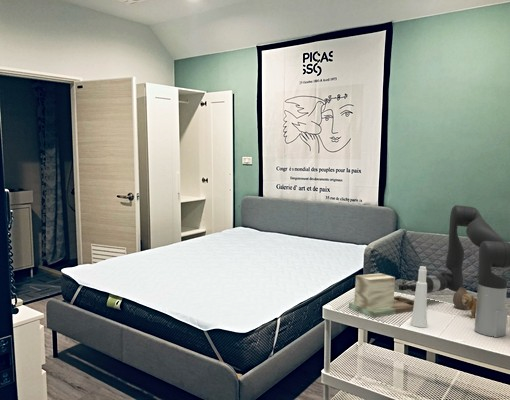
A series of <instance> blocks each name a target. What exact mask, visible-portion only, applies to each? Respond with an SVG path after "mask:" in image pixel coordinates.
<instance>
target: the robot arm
mask: <svg viewBox="0 0 510 400" xmlns="http://www.w3.org/2000/svg"><path fill="white" fill-rule="evenodd" d="M449 216H450V217H449V228H448V229H449V230H448V248H447V254H446V259H445V260H446V261H445V268H447V270H449V272H446V271H443V272H440V273H438V274H437V275H426V283H427V294H431V293H435V292H440V291H444V290H446V289H448V290H450V291H452V292H454V293H456V292H457V291H458V290H459V288H463V284H464V277H463V275H464V274H463V263H464V258H465V251H464V250H465V249H464V247H463V244H462V241H461V240H460V237H459V234H458V227H465V228H466V229H465V231H466V232H465V233H466V235H467V237H468V239H469V240H470V241H471V243H472V244H473V245H475V247H478V248H479V249H478V271H477V272H478V273H477V277H478V278H477V279H478V280H477V292H476V299H477V302H476V313H475V316H474V317H475V318H474V331H475V332H476V333H478V334H480V335H484V336H488V337H493V336H494V338H499V337H503V336H504V337H505V336H506V334H507V325H508V324H507V323H508V322H507V321H508V314H509V313H508V312H509V311H508V308H506V305H507V304H506V302H507V301H506V300H507V292H508V291H507V290H508V281H507V279H506V278H504V277H501V276H499V275H497V274H496V273H494V272H493V271H492V268H501V269H502V268H503V269H504V268H506V269H507V268H510V242H508V241H507V240H506V239H504V238H503V237H501V236H500V235H499V234H498V233H497V232H496V231H495V230H494V229H493V227H492V226H490V224H489V223H487V222H486V220H485V219H484V218H483V216H482V214H481V213H480V211H479V210H478V209H477V208H476V207H473V206H468V205H467V206H465V205H459V204H458V205H454V206H453V207H452V209H451V211H450V215H449ZM417 281H418V276H417V277H416V278H415V279H413V280H410V281H407V280H406V279H403V280H402V282H401V284H398V290H399V291H402V292H403V291H408V292H409V291H411V292H414V293H415V291H416V284H417Z"/></svg>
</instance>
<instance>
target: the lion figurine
mask: <svg viewBox="0 0 510 400" xmlns="http://www.w3.org/2000/svg"><path fill="white" fill-rule="evenodd" d="M476 302H477V298H476V297H474V296H473V295H471V294H469V293H468V294H464V295H463V298H462V303H463V304H464V305H465V306H466V307H467V309H466V310H470V312H471V315H470V316H469V318H470V319H475V318H474V317H475V315H476Z"/></svg>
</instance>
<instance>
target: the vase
mask: <svg viewBox="0 0 510 400" xmlns="http://www.w3.org/2000/svg"><path fill="white" fill-rule="evenodd" d="M464 294H469V292H468V291H467V289H466V288H465V287H462V288H459V290H458V291H457V292H454V294H453V296H452V303H453V305H454V307H455V308H456V309H458V310H468V309H467V307H466V306H465V305H464V304H463V303H462V298H463V295H464Z"/></svg>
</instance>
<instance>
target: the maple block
mask: <svg viewBox="0 0 510 400" xmlns="http://www.w3.org/2000/svg"><path fill="white" fill-rule="evenodd" d="M354 285H355V286H354V301H353V302H354V305H357V306H359V307H362V308H364V309H367V310H373V309H379V308H386V307H393V304H394V297H395V287H396V286H395V285H396V277H395V276H392V275H389V274H385V273H380V272H379V273H370V274H369V273H368V274H358V275H355V283H354Z"/></svg>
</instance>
